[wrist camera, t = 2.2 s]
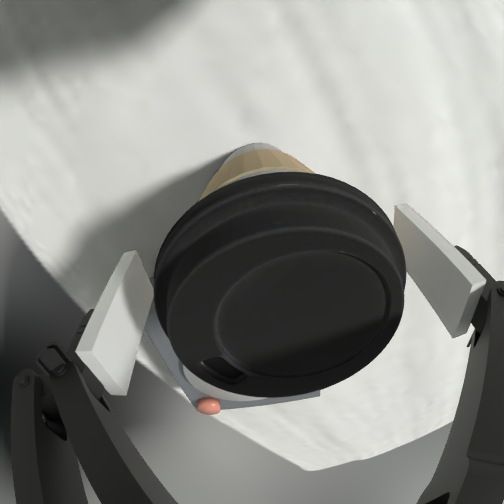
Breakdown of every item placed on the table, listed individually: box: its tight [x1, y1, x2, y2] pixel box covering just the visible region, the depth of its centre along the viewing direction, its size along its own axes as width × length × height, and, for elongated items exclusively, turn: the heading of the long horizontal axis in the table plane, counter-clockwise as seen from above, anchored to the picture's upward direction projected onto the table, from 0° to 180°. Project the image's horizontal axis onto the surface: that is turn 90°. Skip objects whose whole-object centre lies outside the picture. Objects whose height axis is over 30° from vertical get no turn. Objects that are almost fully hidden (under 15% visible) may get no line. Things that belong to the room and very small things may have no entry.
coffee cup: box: [153, 143, 406, 398], centre depth 16 cm, size 9×9×15 cm
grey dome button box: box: [144, 277, 320, 415], centre depth 28 cm, size 16×14×6 cm
